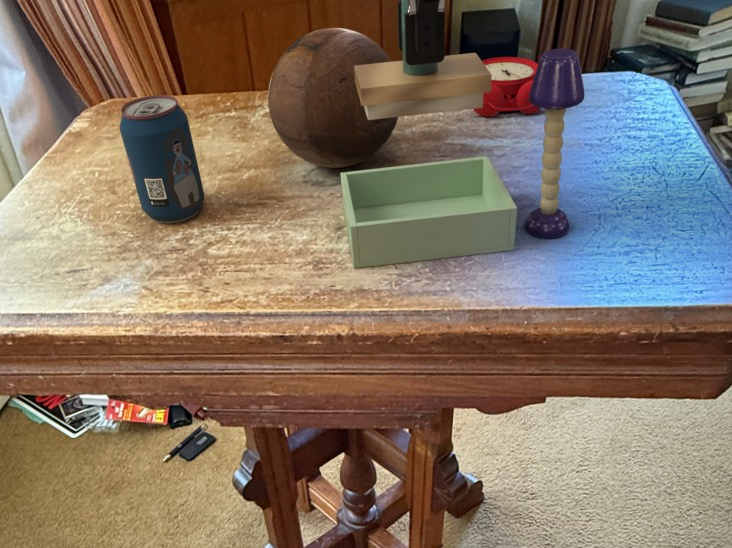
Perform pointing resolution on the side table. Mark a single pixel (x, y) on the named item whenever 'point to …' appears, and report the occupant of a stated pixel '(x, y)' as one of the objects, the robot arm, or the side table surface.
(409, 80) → the brush
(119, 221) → the side table surface
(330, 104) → the wooden sphere
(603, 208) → the side table surface
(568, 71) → the toy lamp
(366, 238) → the tub
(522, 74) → the alarm clock
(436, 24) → the robot arm
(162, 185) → the soda can
